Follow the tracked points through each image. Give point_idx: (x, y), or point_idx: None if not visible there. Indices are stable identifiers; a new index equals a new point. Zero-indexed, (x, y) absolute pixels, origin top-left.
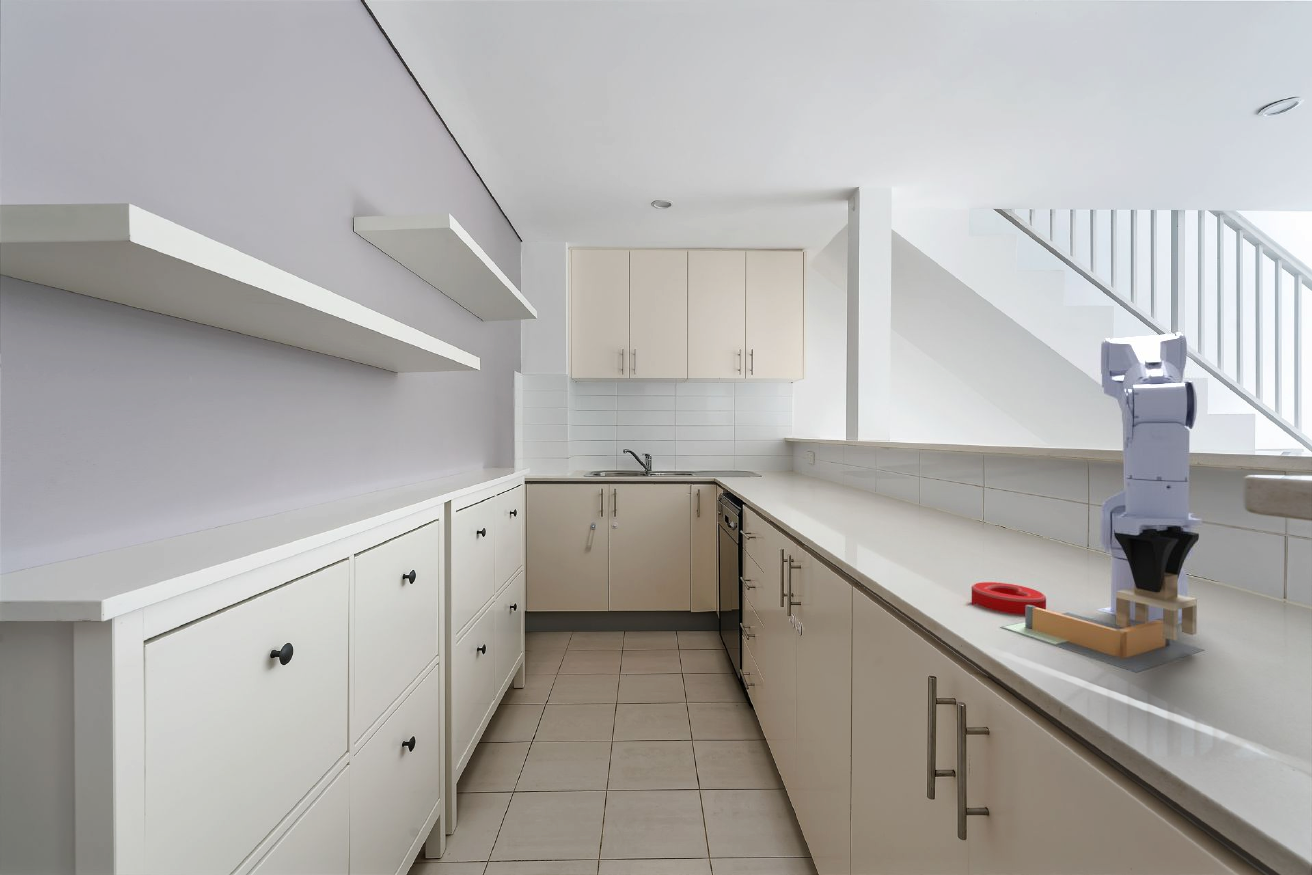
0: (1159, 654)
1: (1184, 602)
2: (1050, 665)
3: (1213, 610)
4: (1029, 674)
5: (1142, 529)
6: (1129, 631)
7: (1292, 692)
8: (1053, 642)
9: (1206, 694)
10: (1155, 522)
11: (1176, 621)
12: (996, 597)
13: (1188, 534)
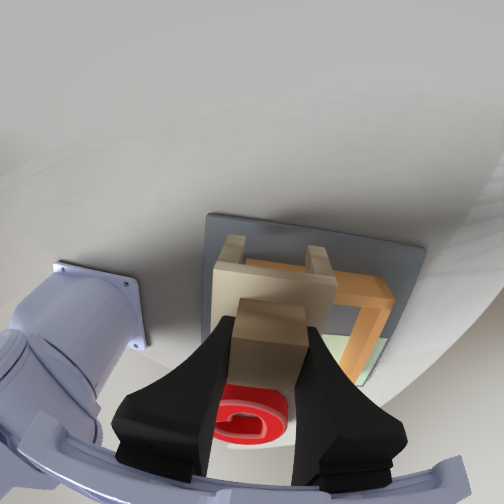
0: None
1: (284, 277)
2: (444, 313)
3: (4, 258)
4: (478, 310)
5: (385, 487)
6: (378, 297)
7: (297, 96)
8: (383, 341)
9: (418, 177)
10: (419, 500)
11: (320, 262)
12: (286, 424)
13: (196, 443)
